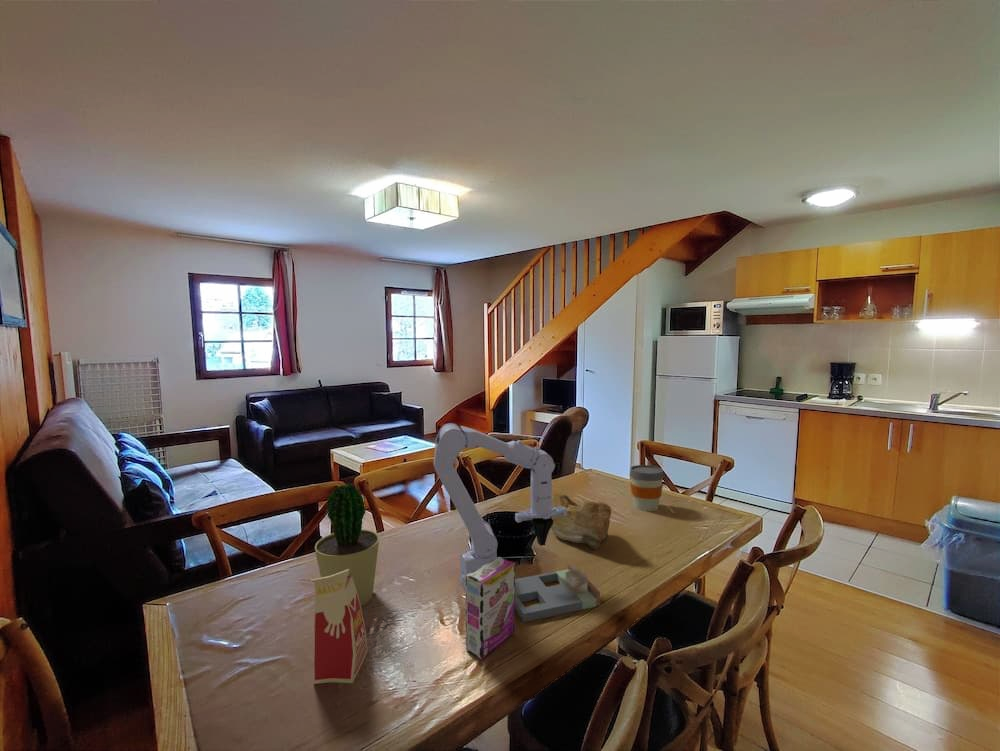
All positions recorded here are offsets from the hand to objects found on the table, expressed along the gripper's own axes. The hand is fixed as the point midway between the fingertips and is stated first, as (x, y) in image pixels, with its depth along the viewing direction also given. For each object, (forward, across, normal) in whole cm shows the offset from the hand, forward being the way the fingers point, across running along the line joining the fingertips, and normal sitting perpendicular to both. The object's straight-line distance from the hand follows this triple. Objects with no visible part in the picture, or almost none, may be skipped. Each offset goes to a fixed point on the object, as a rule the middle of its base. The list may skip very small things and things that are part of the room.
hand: (541, 543), depth 122 cm
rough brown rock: (+10, +24, +17) cm, 31 cm away
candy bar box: (+10, -21, -21) cm, 31 cm away
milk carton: (+10, -52, -18) cm, 56 cm away
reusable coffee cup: (+10, +60, +35) cm, 70 cm away
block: (+7, +4, -12) cm, 15 cm away
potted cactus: (+10, -50, +7) cm, 51 cm away
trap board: (+9, -2, -10) cm, 14 cm away
